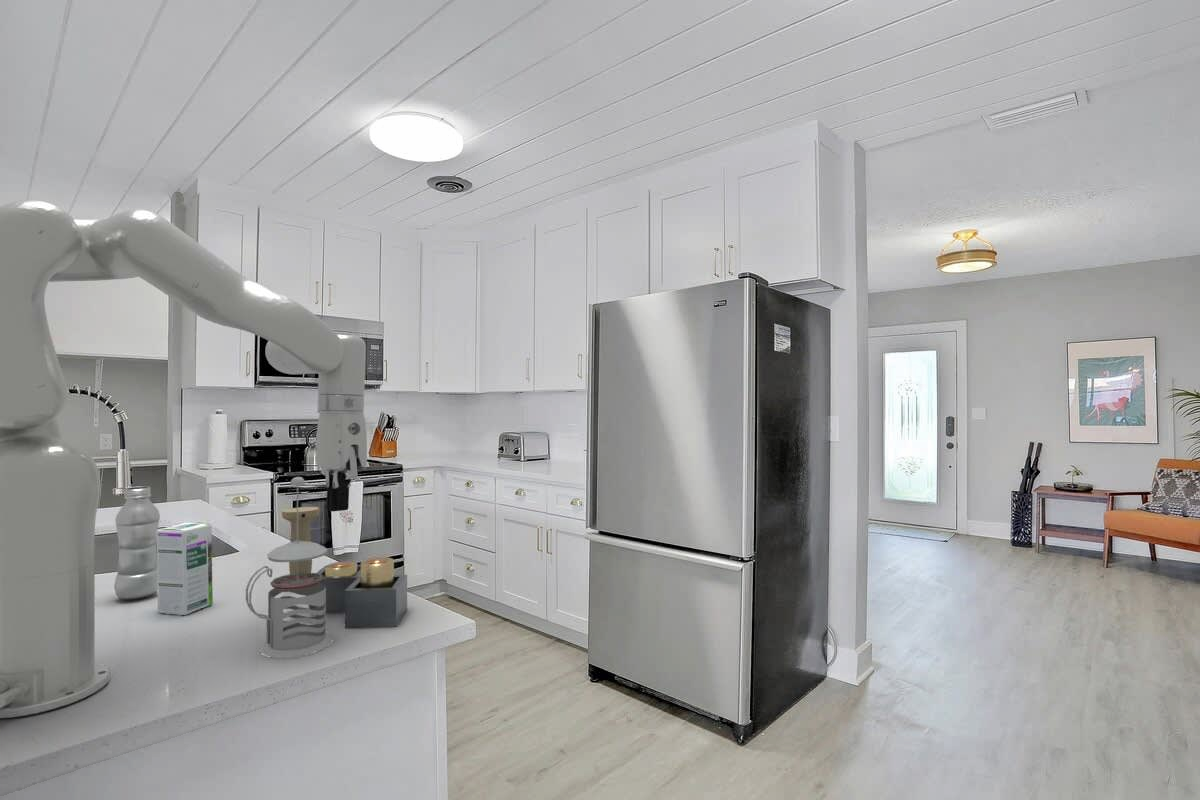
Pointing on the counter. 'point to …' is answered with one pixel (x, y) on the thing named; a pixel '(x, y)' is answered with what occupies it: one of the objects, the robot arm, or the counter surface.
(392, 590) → the socket near
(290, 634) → the french press
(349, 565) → the cream candle
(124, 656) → the counter surface
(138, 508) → the plastic bottle
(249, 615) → the counter surface
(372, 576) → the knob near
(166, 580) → the syrup box
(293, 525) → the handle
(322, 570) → the socket far
